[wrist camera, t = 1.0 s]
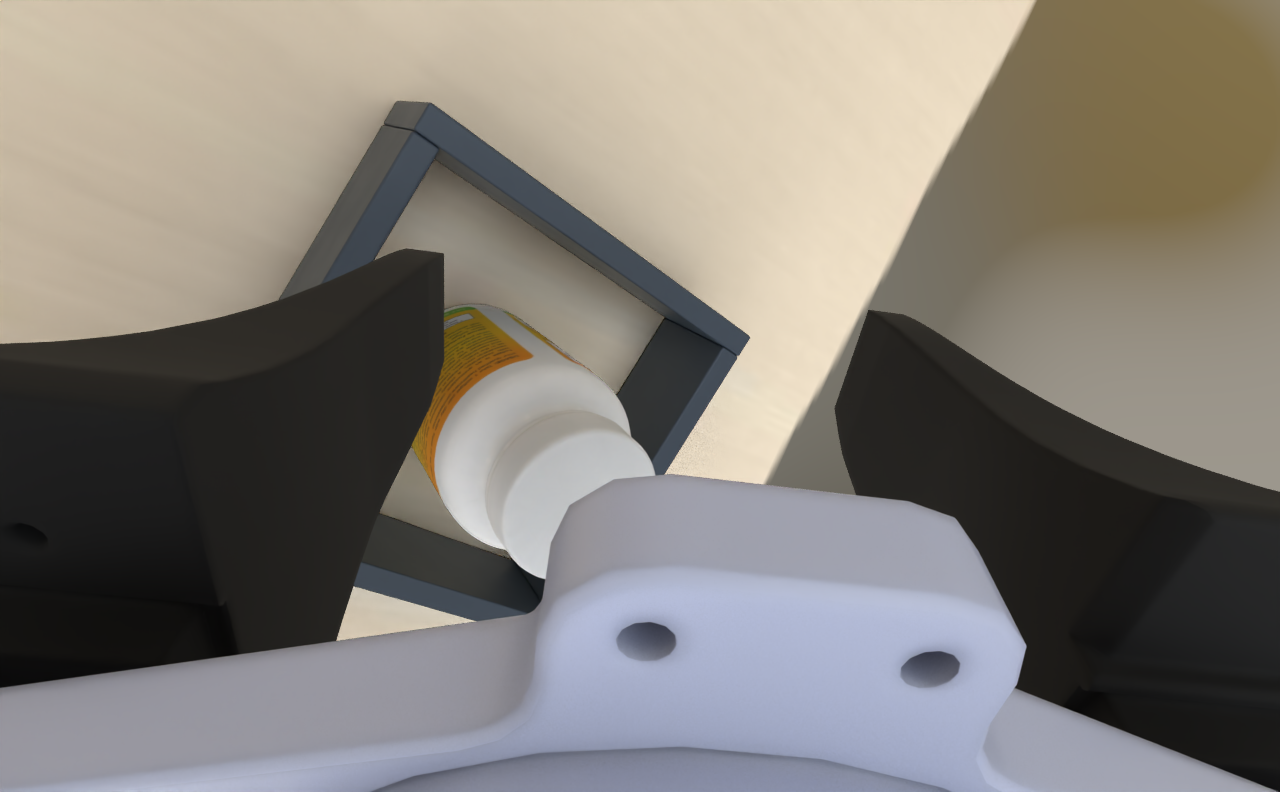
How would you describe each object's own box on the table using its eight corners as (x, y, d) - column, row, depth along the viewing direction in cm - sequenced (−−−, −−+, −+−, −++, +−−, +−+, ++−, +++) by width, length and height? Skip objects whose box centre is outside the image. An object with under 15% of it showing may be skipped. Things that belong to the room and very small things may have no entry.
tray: (519, 583, 29) (558, 645, 26) (177, 469, 22) (171, 535, 19) (690, 309, 29) (751, 337, 25) (396, 99, 21) (430, 101, 18)
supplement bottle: (374, 449, 25) (451, 619, 17) (398, 289, 23) (495, 392, 15) (526, 453, 27) (654, 601, 19) (555, 312, 26) (706, 408, 18)
